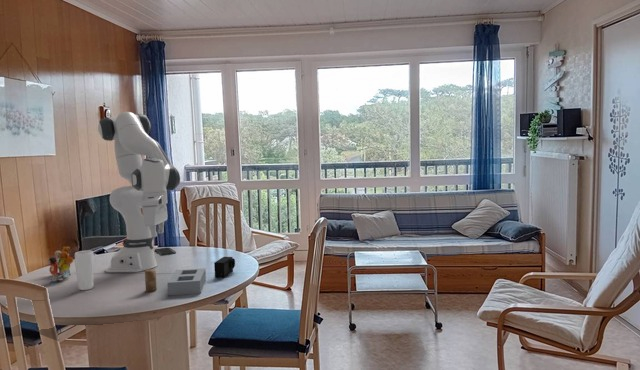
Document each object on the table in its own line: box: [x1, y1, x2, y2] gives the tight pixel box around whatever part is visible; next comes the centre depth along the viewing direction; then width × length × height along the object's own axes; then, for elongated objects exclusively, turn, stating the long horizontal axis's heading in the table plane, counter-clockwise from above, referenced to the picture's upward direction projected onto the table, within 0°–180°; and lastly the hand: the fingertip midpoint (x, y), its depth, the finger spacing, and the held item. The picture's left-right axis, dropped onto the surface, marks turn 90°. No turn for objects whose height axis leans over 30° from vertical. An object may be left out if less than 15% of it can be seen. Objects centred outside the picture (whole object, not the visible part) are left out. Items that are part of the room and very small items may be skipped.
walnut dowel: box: [144, 268, 158, 293], centre depth 176 cm, size 4×4×8 cm
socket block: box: [167, 267, 207, 296], centre depth 179 cm, size 12×18×5 cm, turn 8°
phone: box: [154, 247, 177, 257], centre depth 243 cm, size 8×1×15 cm
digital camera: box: [213, 256, 236, 279], centre depth 196 cm, size 10×5×7 cm, turn 169°
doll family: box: [48, 246, 75, 285], centre depth 197 cm, size 21×10×13 cm, turn 22°
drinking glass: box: [74, 249, 95, 291], centre depth 180 cm, size 7×7×15 cm
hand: (157, 235), depth 174 cm, fingers open, 8 cm apart
